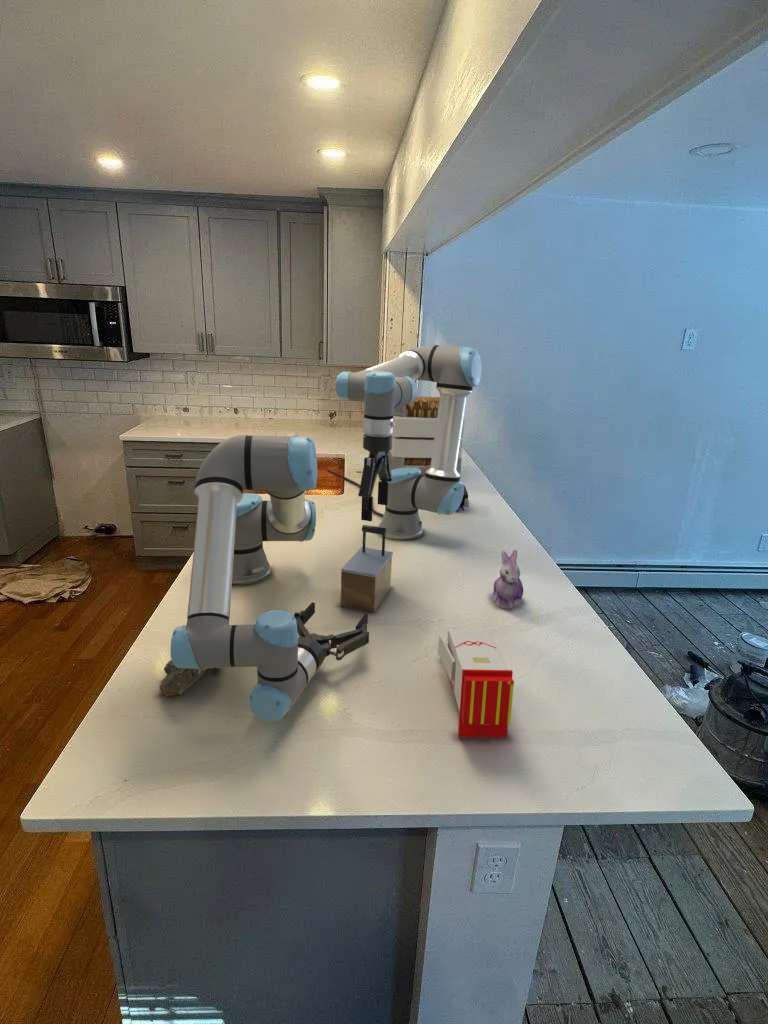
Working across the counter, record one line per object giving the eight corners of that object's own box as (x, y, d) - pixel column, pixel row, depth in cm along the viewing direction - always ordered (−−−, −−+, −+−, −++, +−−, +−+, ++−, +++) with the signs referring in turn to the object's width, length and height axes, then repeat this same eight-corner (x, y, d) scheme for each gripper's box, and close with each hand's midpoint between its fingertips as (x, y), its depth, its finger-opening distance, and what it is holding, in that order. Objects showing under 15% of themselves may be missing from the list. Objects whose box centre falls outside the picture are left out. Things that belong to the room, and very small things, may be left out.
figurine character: (468, 516, 224) (463, 500, 237) (471, 498, 221) (465, 483, 234) (452, 515, 224) (447, 499, 237) (453, 498, 220) (449, 482, 234)
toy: (488, 613, 130) (523, 677, 101) (484, 667, 133) (517, 744, 104) (435, 612, 130) (455, 676, 101) (432, 666, 133) (451, 743, 103)
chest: (359, 582, 164) (360, 550, 160) (390, 587, 161) (392, 555, 158) (340, 605, 150) (341, 571, 147) (373, 612, 148) (375, 577, 144)
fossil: (183, 622, 131) (229, 592, 126) (212, 650, 134) (258, 621, 129) (138, 690, 111) (189, 657, 106) (173, 721, 114) (225, 691, 109)
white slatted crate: (382, 463, 289) (386, 382, 275) (445, 464, 293) (451, 384, 279) (390, 482, 257) (394, 392, 243) (460, 483, 261) (468, 394, 247)
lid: (361, 549, 161) (362, 520, 158) (392, 554, 158) (394, 525, 155) (341, 571, 147) (341, 540, 144) (375, 577, 144) (376, 545, 141)
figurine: (505, 613, 150) (512, 561, 145) (482, 596, 158) (488, 546, 153) (533, 606, 154) (540, 555, 149) (509, 589, 163) (515, 541, 158)
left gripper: (247, 664, 121) (292, 616, 140) (357, 690, 114) (388, 636, 133) (246, 633, 118) (292, 589, 137) (358, 659, 111) (390, 608, 131)
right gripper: (376, 445, 133) (373, 529, 140) (405, 427, 155) (400, 500, 162) (346, 442, 135) (345, 525, 142) (378, 424, 157) (376, 496, 164)
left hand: (339, 612), depth 135 cm, fingers open, 13 cm apart
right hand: (374, 512), depth 152 cm, fingers open, 13 cm apart
